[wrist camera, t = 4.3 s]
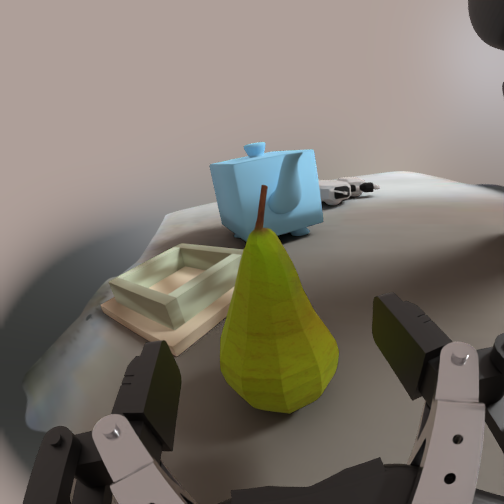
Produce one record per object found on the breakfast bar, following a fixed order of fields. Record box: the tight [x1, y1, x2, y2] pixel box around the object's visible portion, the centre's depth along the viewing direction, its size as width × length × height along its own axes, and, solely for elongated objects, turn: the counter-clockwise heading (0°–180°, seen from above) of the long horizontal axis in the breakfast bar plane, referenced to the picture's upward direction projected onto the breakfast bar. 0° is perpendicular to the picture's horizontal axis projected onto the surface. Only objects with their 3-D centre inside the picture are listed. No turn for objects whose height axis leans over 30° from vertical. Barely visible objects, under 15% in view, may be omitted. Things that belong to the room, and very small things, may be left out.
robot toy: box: [318, 177, 380, 205], centre depth 56 cm, size 12×4×15 cm
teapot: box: [210, 142, 323, 242], centre depth 40 cm, size 22×11×14 cm, turn 21°
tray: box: [100, 243, 244, 356], centre depth 29 cm, size 14×14×4 cm
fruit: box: [220, 185, 339, 413], centre depth 14 cm, size 6×6×12 cm
